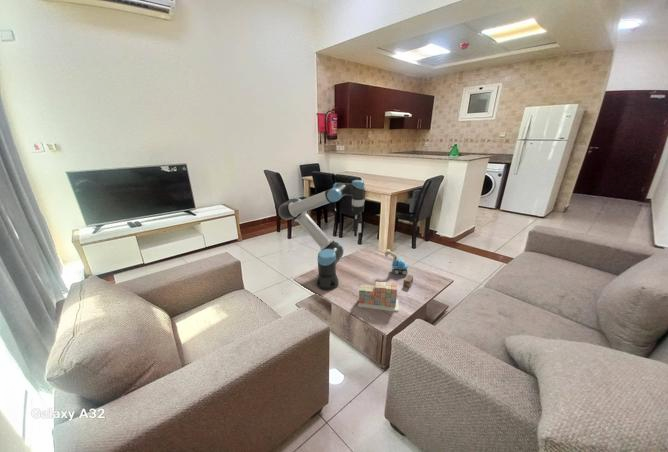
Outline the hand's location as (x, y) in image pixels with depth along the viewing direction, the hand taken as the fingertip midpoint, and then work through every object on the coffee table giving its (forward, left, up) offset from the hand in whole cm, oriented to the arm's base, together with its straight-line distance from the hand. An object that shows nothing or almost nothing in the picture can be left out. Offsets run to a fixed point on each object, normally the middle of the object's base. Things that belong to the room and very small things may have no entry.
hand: (357, 236), depth 168 cm
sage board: (+17, -26, -32) cm, 44 cm away
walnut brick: (+35, -1, -32) cm, 47 cm away
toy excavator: (+27, +14, -32) cm, 44 cm away
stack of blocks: (+16, -26, -31) cm, 43 cm away
